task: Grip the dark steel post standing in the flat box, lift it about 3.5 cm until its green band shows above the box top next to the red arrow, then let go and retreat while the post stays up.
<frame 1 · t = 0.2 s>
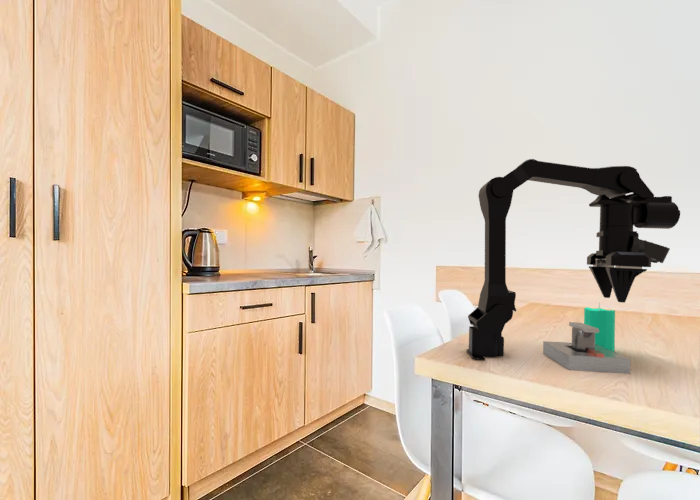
hand: (613, 299, 73), 14 cm above the table, fingers open, 9 cm apart
candle: (598, 353, 81), on the table
flat box: (582, 366, 71), on the table
column: (583, 343, 71), point 5 cm above the table, slide at 0.0 cm
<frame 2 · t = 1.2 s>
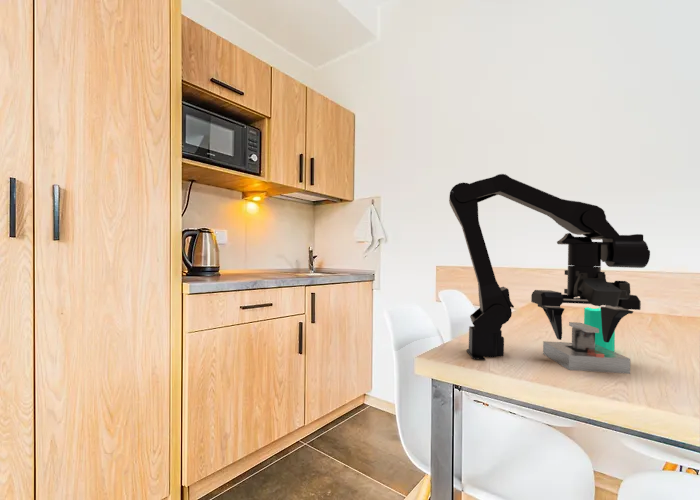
hand: (582, 340, 71), 5 cm above the table, fingers open, 9 cm apart
nothing on the table moved.
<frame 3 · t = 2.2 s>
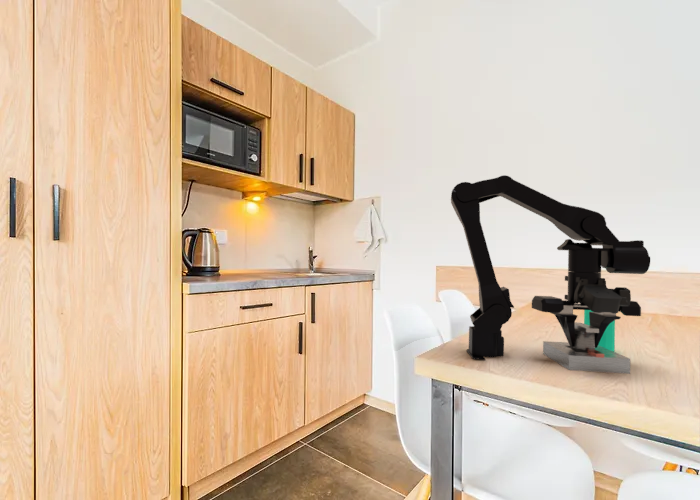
hand: (583, 346, 71), 4 cm above the table, fingers closed on column, 4 cm apart
column: (583, 344, 71), point 5 cm above the table, slide at 0.0 cm, touching gripper
everything else where it was.
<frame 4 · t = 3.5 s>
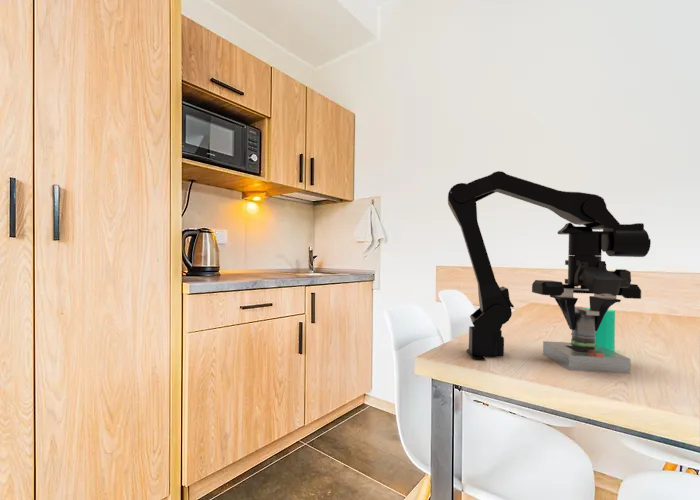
hand: (583, 330, 71), 7 cm above the table, fingers closed on column, 4 cm apart
column: (583, 327, 71), point 8 cm above the table, slide at 3.4 cm, touching gripper
everything else where it was.
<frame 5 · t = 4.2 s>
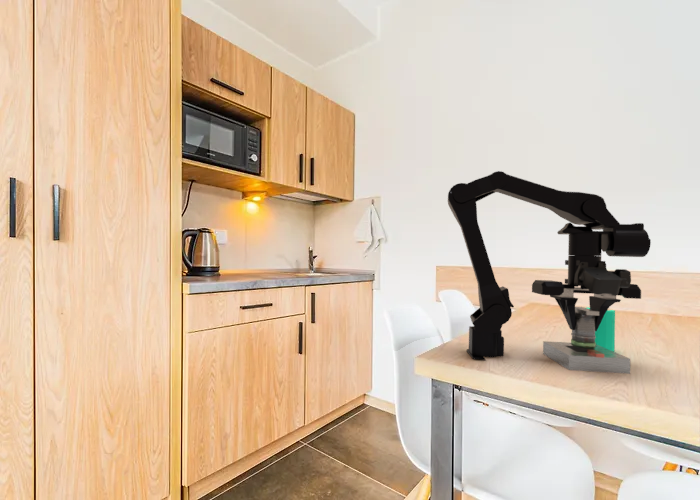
hand: (583, 330, 71), 7 cm above the table, fingers closed on column, 4 cm apart
column: (583, 327, 71), point 8 cm above the table, slide at 3.4 cm, touching gripper
everything else where it was.
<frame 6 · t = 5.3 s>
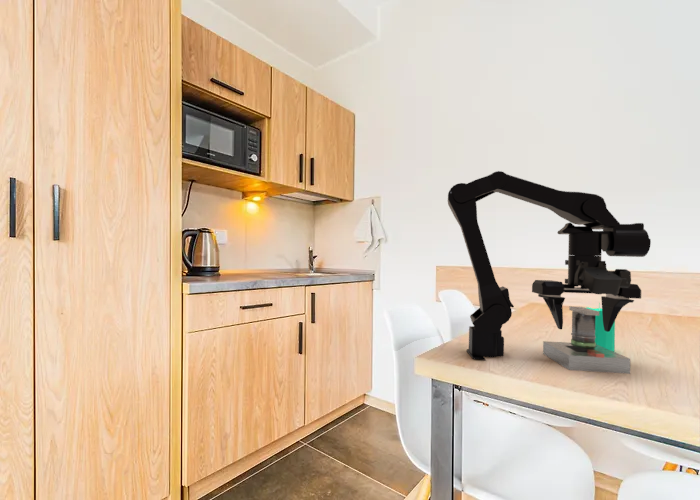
hand: (583, 330, 71), 7 cm above the table, fingers open, 9 cm apart
column: (583, 327, 71), point 8 cm above the table, slide at 3.5 cm
everything else where it was.
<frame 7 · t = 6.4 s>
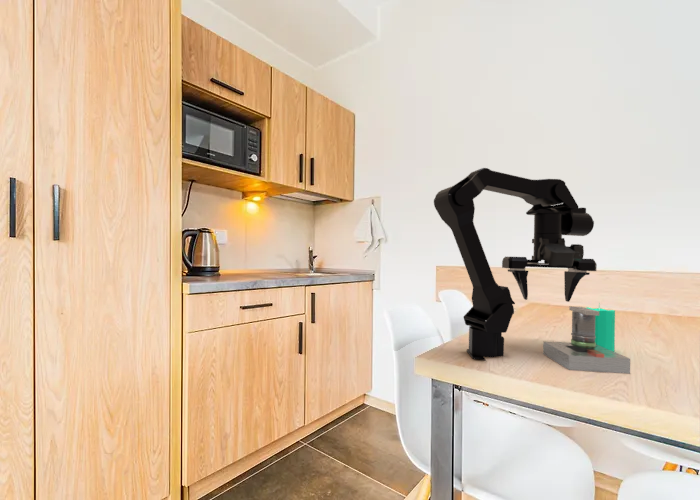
hand: (546, 300, 80), 12 cm above the table, fingers open, 9 cm apart
nothing on the table moved.
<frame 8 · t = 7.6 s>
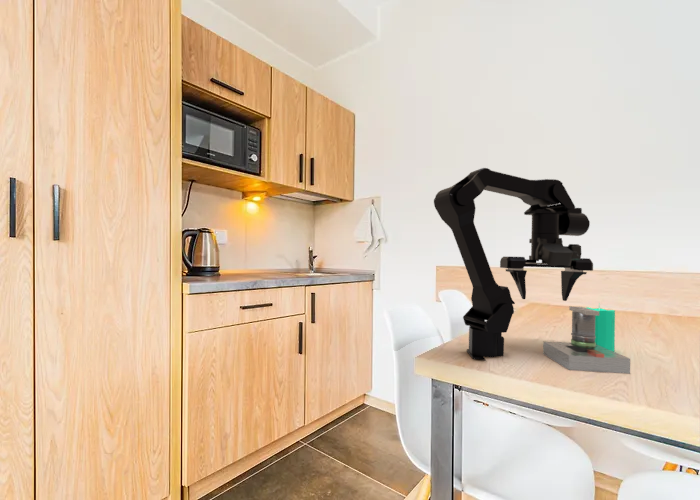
hand: (544, 299, 80), 13 cm above the table, fingers open, 9 cm apart
nothing on the table moved.
at the end: column slide at 3.5 cm; the gripper is holding nothing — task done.
